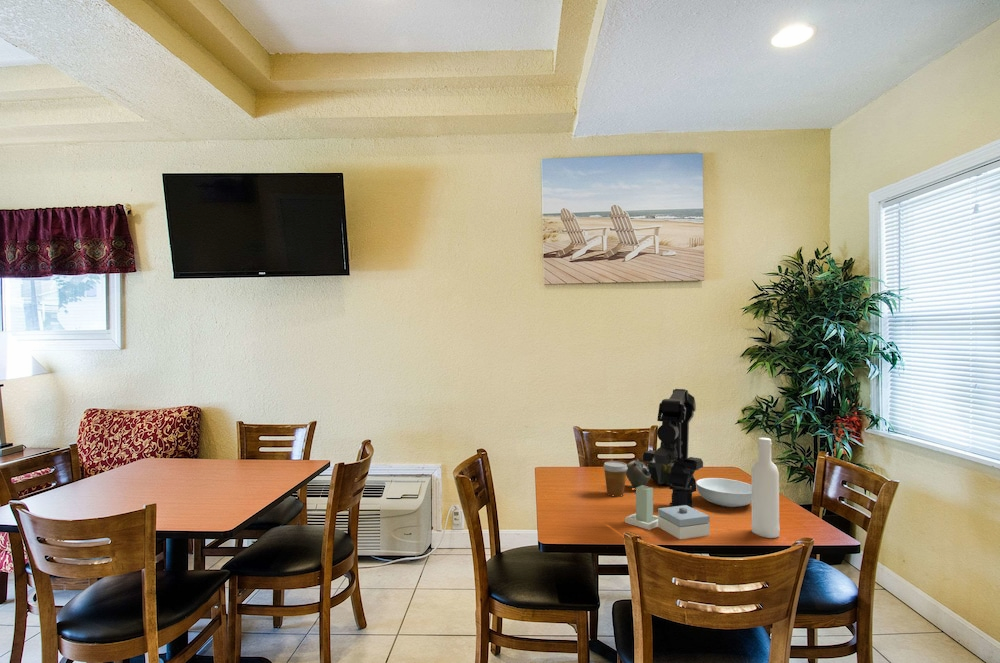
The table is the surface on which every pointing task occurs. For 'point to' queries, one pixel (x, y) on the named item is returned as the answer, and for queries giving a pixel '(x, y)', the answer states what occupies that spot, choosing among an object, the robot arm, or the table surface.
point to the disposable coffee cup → (615, 477)
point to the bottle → (765, 493)
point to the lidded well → (684, 529)
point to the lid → (683, 515)
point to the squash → (662, 473)
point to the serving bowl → (725, 491)
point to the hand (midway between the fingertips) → (671, 486)
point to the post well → (633, 521)
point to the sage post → (644, 504)
